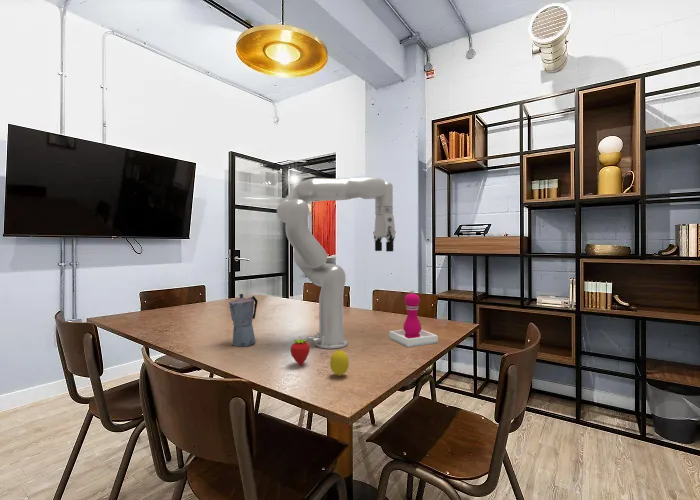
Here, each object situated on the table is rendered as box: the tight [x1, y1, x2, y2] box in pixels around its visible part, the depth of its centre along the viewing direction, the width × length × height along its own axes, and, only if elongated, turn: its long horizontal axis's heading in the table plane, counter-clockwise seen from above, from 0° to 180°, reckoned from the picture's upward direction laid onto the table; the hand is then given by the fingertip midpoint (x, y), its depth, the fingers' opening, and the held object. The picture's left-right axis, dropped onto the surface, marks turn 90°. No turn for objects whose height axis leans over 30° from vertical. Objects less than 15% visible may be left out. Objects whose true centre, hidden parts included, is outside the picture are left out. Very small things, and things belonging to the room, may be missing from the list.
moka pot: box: [228, 293, 258, 348], centre depth 141 cm, size 10×15×20 cm, turn 158°
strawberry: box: [290, 337, 311, 367], centre depth 116 cm, size 6×8×10 cm
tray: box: [388, 329, 439, 348], centre depth 145 cm, size 14×14×3 cm
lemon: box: [329, 349, 350, 377], centre depth 106 cm, size 6×6×8 cm
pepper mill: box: [402, 289, 422, 339], centre depth 144 cm, size 7×7×20 cm
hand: (383, 251), depth 153 cm, fingers open, 9 cm apart
